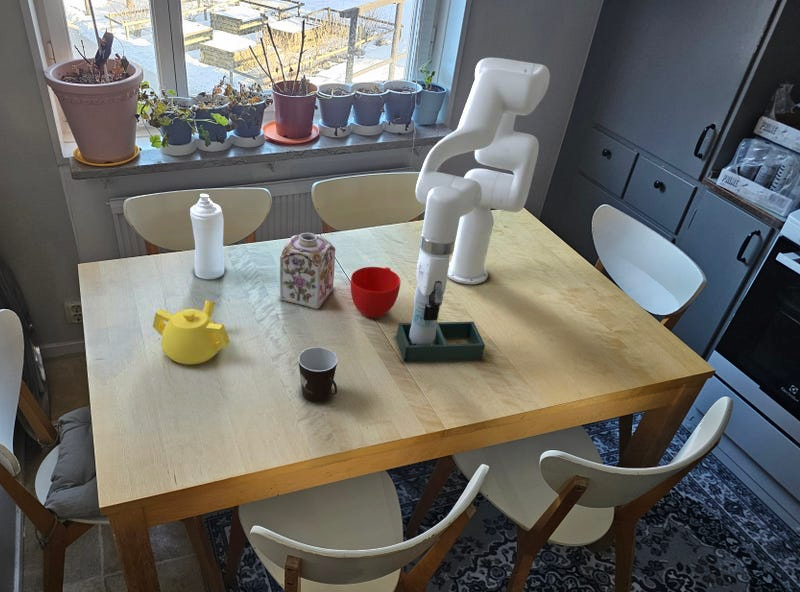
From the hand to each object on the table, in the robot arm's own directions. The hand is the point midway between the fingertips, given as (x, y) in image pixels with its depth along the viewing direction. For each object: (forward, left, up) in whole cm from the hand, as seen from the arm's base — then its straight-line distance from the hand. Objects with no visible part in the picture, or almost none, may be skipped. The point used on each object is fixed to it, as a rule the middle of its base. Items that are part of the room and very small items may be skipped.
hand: (426, 310), depth 151 cm
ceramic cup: (-19, -8, -12) cm, 24 cm away
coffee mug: (+17, -27, -12) cm, 34 cm away
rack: (0, +5, -12) cm, 13 cm away
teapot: (-4, -55, -12) cm, 57 cm away
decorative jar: (-26, -26, -12) cm, 39 cm away
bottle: (0, 0, -10) cm, 10 cm away
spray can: (-38, -53, -12) cm, 67 cm away
